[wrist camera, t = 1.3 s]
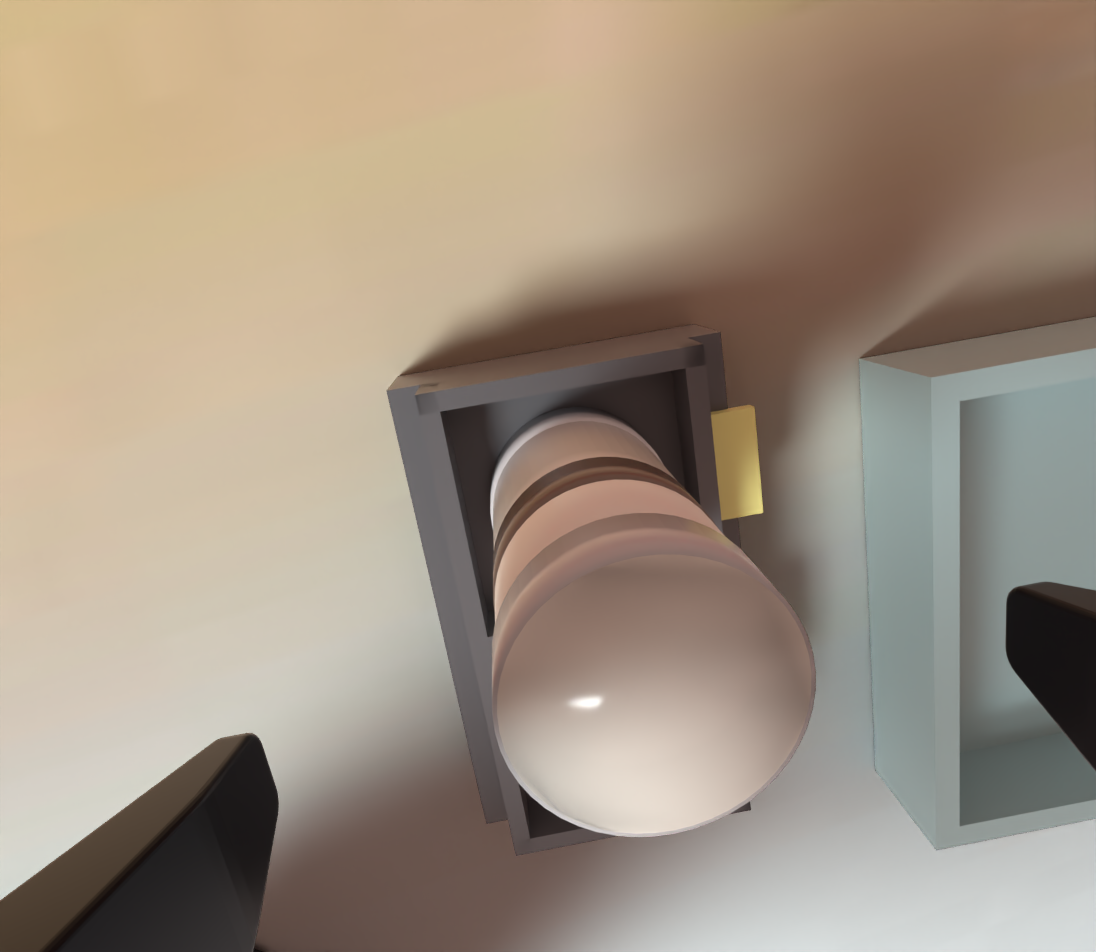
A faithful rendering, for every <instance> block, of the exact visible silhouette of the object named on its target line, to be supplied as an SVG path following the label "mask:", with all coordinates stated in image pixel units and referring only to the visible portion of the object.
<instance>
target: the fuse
mask: <svg viewBox="0 0 1096 952" xmlns="http://www.w3.org/2000/svg"><path fill="white" fill-rule="evenodd" d="M490 514H491V522H492V527H493V541H494V553H493V604H494V611H495V627H494V633H493V639H492V715H493V722H494V729H495V735H496V738H497V741H498V745H499V748H500V751H501V753H502V756H503V758H504V760H505V762H506V764H507V766H508V768H509V769H510V771H511V772H512V774H513V775H514V777H515V778H516V780H517V781H518V783H519V784H520V785H521V786H522V787H523V788H524V789H525V791H526V792H527V793H528V794H529V795H530V796H531V797H532V798H533V799H535V800H536V801H537V802H538V803H539V804H541V805H542V806H543V807H544V808H545V809H547V810H549V811H550V812H552V813H553V814H555V815H557V816H558V817H560V818H562V819H564V820H566V821H568V822H570V823H572V824H575V825H577V826H579V827H582V828H586V829H589V830H592V831H595V832H599V833H604V834H610V835H615V836H626V837H655V836H662V835H669V834H676V833H680V832H684V831H688V830H692V829H695V828H698V827H701V826H703V825H706V824H709V823H711V822H714V821H716V820H718V819H720V818H722V817H724V816H726V815H728V814H730V813H732V812H734V811H735V810H737V809H738V808H740V807H741V806H743V805H745V804H746V803H748V802H749V801H750V800H752V799H753V798H754V797H755V796H757V795H758V794H759V793H760V792H762V791H763V790H764V789H765V788H766V787H767V786H768V785H769V784H770V783H771V782H772V781H773V780H774V779H775V778H776V777H777V776H778V775H779V773H780V772H781V771H782V770H783V768H784V767H785V766H786V765H787V763H788V762H789V761H790V759H791V758H792V756H793V754H794V753H795V751H796V749H797V748H798V746H799V744H800V742H801V740H802V738H803V736H804V733H805V731H806V729H807V726H808V723H809V720H810V716H811V713H812V710H813V704H814V697H815V691H816V671H815V664H814V656H813V652H812V648H811V645H810V642H809V638H808V635H807V633H806V631H805V629H804V627H803V625H802V623H801V621H800V619H799V617H798V616H797V614H796V613H795V611H794V610H793V608H792V607H791V606H790V604H789V603H788V602H787V601H786V599H785V598H784V597H783V596H782V595H781V594H780V593H779V591H778V590H777V589H776V588H775V587H774V586H773V585H772V584H771V582H770V581H769V580H768V579H767V578H766V577H765V576H764V574H763V573H762V572H761V571H760V570H759V569H758V568H757V566H756V565H755V564H754V563H753V562H752V561H751V560H750V559H749V558H748V557H747V555H746V554H745V553H744V552H743V551H742V550H741V549H740V548H739V547H738V546H736V545H735V544H734V543H733V542H731V541H730V540H729V539H728V538H726V537H725V536H724V535H723V533H722V532H721V531H720V530H719V528H718V527H717V526H716V524H715V523H714V521H713V520H712V519H711V517H710V516H709V515H708V514H707V513H706V512H705V510H704V509H703V508H702V507H701V506H700V505H699V504H698V502H697V501H696V500H695V499H694V498H693V497H692V496H691V494H690V493H689V492H688V491H687V490H686V489H685V488H684V487H683V486H682V485H681V484H680V483H679V482H678V481H677V480H676V479H675V478H674V477H673V475H672V474H671V473H670V472H669V471H668V470H667V469H666V467H665V466H664V465H663V463H662V461H661V459H660V458H659V456H658V455H657V454H656V452H655V451H654V450H653V448H652V447H651V446H650V445H649V444H648V443H647V442H646V441H645V439H644V438H643V437H642V436H641V435H640V434H639V433H638V432H637V431H636V430H635V429H634V428H633V427H632V426H631V425H629V424H628V423H627V422H625V421H624V420H622V419H621V418H619V417H617V416H615V415H613V414H611V413H608V412H605V411H602V410H599V409H594V408H587V407H569V408H561V409H557V410H553V411H550V412H547V413H544V414H542V415H540V416H538V417H536V418H534V419H532V420H530V421H529V422H528V423H526V424H525V425H523V426H522V427H521V428H520V429H519V430H518V431H516V432H515V433H514V434H513V435H512V436H511V438H510V439H509V440H508V441H507V443H506V444H505V445H504V447H503V449H502V450H501V452H500V454H499V456H498V458H497V460H496V463H495V466H494V469H493V472H492V477H491V484H490Z"/></svg>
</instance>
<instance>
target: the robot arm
mask: <svg viewBox="0 0 1096 952" xmlns="http://www.w3.org/2000/svg"><path fill="white" fill-rule="evenodd" d="M1005 648H1006V655H1007V658H1008V661H1009V663H1010V665H1011V667H1012V669H1013V670H1014V672H1015V673H1016V674H1017V676H1018V677H1019V678H1020V679H1021V680H1022V682H1023V683H1024V684H1025V685H1026V687H1027V688H1028V689H1029V690H1030V692H1031V693H1032V694H1033V695H1034V697H1035V698H1036V699H1037V700H1038V702H1039V703H1040V704H1041V705H1042V706H1043V708H1044V709H1045V710H1046V711H1047V713H1048V714H1049V715H1050V716H1051V718H1052V719H1053V720H1054V721H1055V723H1056V724H1057V725H1058V726H1059V728H1060V729H1061V730H1062V731H1063V733H1064V734H1065V735H1066V736H1067V737H1068V739H1069V740H1070V741H1071V742H1072V744H1073V745H1074V746H1075V747H1076V749H1077V750H1078V751H1079V752H1080V754H1081V755H1082V756H1083V757H1084V758H1085V760H1086V761H1087V762H1088V763H1089V764H1090V766H1091V767H1092V768H1093V769H1094V770H1095V771H1096V590H1092V589H1086V588H1081V587H1076V586H1070V585H1065V584H1060V583H1054V582H1047V581H1046V582H1038V583H1032V584H1027V585H1022V586H1018V587H1014V588H1013V589H1012V590H1011V591H1010V592H1009V593H1008V596H1007V600H1006V639H1005ZM278 808H279V802H278V793H277V789H276V786H275V783H274V780H273V777H272V773H271V770H270V767H269V764H268V761H267V758H266V755H265V752H264V749H263V746H262V743H261V741H260V740H259V738H258V737H257V736H256V735H255V734H253V733H245V734H239V735H234V736H229V737H224V738H220V739H218V740H216V741H214V742H213V743H212V744H210V745H209V746H208V747H206V748H205V749H204V750H202V751H201V752H200V753H198V754H197V755H196V756H194V757H193V758H191V759H190V760H189V761H187V762H186V763H185V764H183V765H182V766H181V767H179V768H178V769H177V770H175V771H174V772H173V773H171V774H170V775H169V776H167V777H166V778H165V779H163V780H162V781H161V782H159V783H158V784H156V785H155V786H154V787H152V788H151V789H150V790H148V791H147V792H146V793H144V794H143V795H142V796H140V797H139V798H138V799H136V800H135V801H134V802H132V803H131V804H130V805H128V806H127V807H125V808H124V809H123V810H121V811H120V812H119V813H117V814H116V815H115V816H113V817H112V818H111V819H109V820H108V821H107V822H105V823H104V824H103V825H101V826H100V827H99V828H97V829H96V830H94V831H93V832H92V833H90V834H89V835H88V836H86V837H85V838H84V839H82V840H81V841H80V842H78V843H77V844H76V845H74V846H73V847H72V848H70V849H69V850H68V851H66V852H65V853H64V854H62V855H61V856H59V857H58V858H57V859H55V860H54V861H53V862H51V863H50V864H49V865H47V866H46V867H45V868H43V869H42V870H41V871H39V872H38V873H37V874H35V875H34V876H33V877H31V878H30V879H28V880H27V881H26V882H24V883H23V884H22V885H20V886H19V887H18V888H16V889H15V890H14V891H12V892H11V893H10V894H8V895H7V896H6V897H4V898H3V899H2V900H0V952H261V951H259V950H255V949H254V945H255V941H256V936H257V931H258V926H259V921H260V915H261V909H262V903H263V898H264V892H265V886H266V880H267V875H268V869H269V863H270V857H271V851H272V846H273V840H274V834H275V828H276V823H277V817H278Z"/></svg>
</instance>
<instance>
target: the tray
mask: <svg viewBox="0 0 1096 952" xmlns="http://www.w3.org/2000/svg"><path fill="white" fill-rule="evenodd" d="M859 369H860V394H861V419H862V445H863V470H864V495H865V521H866V546H867V571H868V596H869V622H870V647H871V672H872V697H873V723H874V748H875V771H876V772H877V773H878V775H879V776H880V777H881V778H882V780H883V781H884V782H885V784H886V785H887V786H888V788H889V789H890V790H891V792H892V793H893V794H894V796H895V797H896V798H897V800H898V801H899V802H900V803H901V805H902V806H903V807H904V809H905V810H906V811H907V813H908V814H909V815H910V817H911V818H912V819H913V821H914V822H915V823H916V824H917V826H918V827H919V828H920V830H921V831H922V832H923V834H924V835H925V836H926V838H927V839H928V840H929V842H930V843H931V844H932V845H933V847H934V848H935V849H936V850H941V849H946V848H951V847H956V846H961V845H966V844H971V843H976V842H981V841H986V840H991V839H996V838H1001V837H1006V836H1011V835H1016V834H1022V833H1027V832H1032V831H1037V830H1042V829H1047V828H1052V827H1057V826H1062V825H1067V824H1072V823H1077V822H1082V821H1087V820H1092V819H1096V771H1095V770H1094V769H1093V768H1092V767H1091V766H1090V764H1089V763H1088V762H1087V761H1086V760H1085V758H1084V757H1083V756H1082V755H1081V754H1080V752H1079V751H1078V750H1077V749H1076V747H1075V746H1074V745H1073V744H1072V742H1071V741H1070V740H1069V739H1068V737H1067V736H1066V735H1065V734H1064V733H1063V731H1062V730H1061V729H1060V728H1059V726H1058V725H1057V724H1056V723H1055V721H1054V720H1053V719H1052V718H1051V716H1050V715H1049V714H1048V713H1047V711H1046V710H1045V709H1044V708H1043V706H1042V705H1041V704H1040V703H1039V702H1038V700H1037V699H1036V698H1035V697H1034V695H1033V694H1032V693H1031V692H1030V690H1029V689H1028V688H1027V687H1026V685H1025V684H1024V683H1023V682H1022V680H1021V679H1020V678H1019V677H1018V676H1017V674H1016V673H1015V672H1014V670H1013V669H1012V667H1011V665H1010V663H1009V661H1008V658H1007V655H1006V648H1005V639H1006V600H1007V596H1008V593H1009V592H1010V591H1011V590H1012V589H1013V588H1014V587H1018V586H1022V585H1027V584H1032V583H1038V582H1046V581H1047V582H1054V583H1060V584H1065V585H1070V586H1076V587H1081V588H1086V589H1092V590H1096V317H1091V318H1085V319H1080V320H1074V321H1068V322H1063V323H1057V324H1052V325H1046V326H1040V327H1035V328H1029V329H1024V330H1018V331H1012V332H1007V333H1001V334H996V335H990V336H984V337H979V338H973V339H967V340H962V341H956V342H951V343H945V344H939V345H934V346H928V347H923V348H917V349H911V350H906V351H900V352H894V353H889V354H883V355H878V356H872V357H866V358H861V359H859Z"/></svg>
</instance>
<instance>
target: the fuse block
mask: <svg viewBox="0 0 1096 952" xmlns="http://www.w3.org/2000/svg"><path fill="white" fill-rule="evenodd" d="M387 395H388V399H389V403H390V408H391V412H392V416H393V421H394V425H395V429H396V434H397V438H398V442H399V447H400V451H401V455H402V460H403V464H404V468H405V473H406V477H407V481H408V486H409V490H410V494H411V499H412V503H413V507H414V512H415V516H416V520H417V525H418V529H419V533H420V538H421V542H422V546H423V551H424V555H425V559H426V564H427V568H428V572H429V577H430V581H431V585H432V590H433V594H434V598H435V603H436V607H437V611H438V616H439V620H440V624H441V629H442V633H443V637H444V642H445V646H446V650H447V655H448V659H449V663H450V668H451V672H452V676H453V681H454V685H455V689H456V694H457V698H458V702H459V707H460V711H461V715H462V720H463V724H464V728H465V733H466V737H467V741H468V746H469V750H470V754H471V758H472V763H473V767H474V771H475V776H476V780H477V784H478V789H479V793H480V797H481V802H482V806H483V810H484V815H485V819H486V823H487V824H488V823H493V822H498V821H503V820H508V821H509V826H510V830H511V835H512V839H513V844H514V848H515V853H516V856H518V855H523V854H528V853H533V852H538V851H543V850H548V849H553V848H559V847H564V846H569V845H574V844H579V843H584V842H589V841H594V840H600V839H605V838H610V837H615V835H610V834H604V833H599V832H595V831H592V830H589V829H586V828H582V827H579V826H577V825H575V824H572V823H570V822H568V821H566V820H564V819H562V818H560V817H558V816H557V815H555V814H553V813H552V812H550V811H549V810H547V809H545V808H544V807H543V806H542V805H541V804H539V803H538V802H537V801H536V800H535V799H533V798H532V797H531V796H530V795H529V794H528V793H527V792H526V791H525V789H524V788H523V787H522V786H521V785H520V784H519V783H518V781H517V780H516V778H515V777H514V775H513V774H512V772H511V771H510V769H509V768H508V766H507V764H506V762H505V760H504V758H503V756H502V753H501V751H500V748H499V745H498V741H497V738H496V735H495V729H494V722H493V715H492V639H493V633H494V627H495V611H494V604H493V553H494V541H493V527H492V522H491V514H490V484H491V477H492V472H493V469H494V466H495V463H496V460H497V458H498V456H499V454H500V452H501V450H502V449H503V447H504V445H505V444H506V443H507V441H508V440H509V439H510V438H511V436H512V435H513V434H514V433H515V432H516V431H518V430H519V429H520V428H521V427H522V426H523V425H525V424H526V423H528V422H529V421H530V420H532V419H534V418H536V417H538V416H540V415H542V414H544V413H547V412H550V411H553V410H557V409H561V408H569V407H587V408H594V409H599V410H602V411H605V412H608V413H611V414H613V415H615V416H617V417H619V418H621V419H622V420H624V421H625V422H627V423H628V424H629V425H631V426H632V427H633V428H634V429H635V430H636V431H637V432H638V433H639V434H640V435H641V436H642V437H643V438H644V439H645V441H646V442H647V443H648V444H649V445H650V446H651V447H652V448H653V450H654V451H655V452H656V454H657V455H658V456H659V458H660V459H661V461H662V463H663V465H664V466H665V467H666V469H667V470H668V471H669V472H670V473H671V474H672V475H673V477H674V478H675V479H676V480H677V481H678V482H679V483H680V484H681V485H682V486H683V487H684V488H685V489H686V490H687V491H688V492H689V493H690V494H691V496H692V497H693V498H694V499H695V500H696V501H697V502H698V504H699V505H700V506H701V507H702V508H703V509H704V510H705V512H706V513H707V514H708V515H709V516H710V517H711V519H712V520H713V521H714V523H715V524H716V526H717V527H718V528H719V530H720V531H721V532H722V533H723V535H724V536H725V537H726V538H728V539H729V540H730V541H731V542H733V543H734V544H735V545H736V546H738V547H739V548H740V549H741V546H740V535H739V525H738V517H744V516H749V515H754V514H760V513H763V504H762V492H761V479H760V467H759V455H758V443H757V431H756V419H755V407H753V406H751V405H744V406H739V407H733V408H728V407H727V397H726V386H725V375H724V365H723V354H722V343H721V333H720V332H719V331H715V330H712V329H709V328H706V327H702V326H699V325H696V324H692V325H687V326H681V327H675V328H670V329H664V330H658V331H653V332H647V333H641V334H635V335H630V336H624V337H618V338H613V339H607V340H601V341H596V342H590V343H584V344H578V345H573V346H567V347H561V348H556V349H550V350H544V351H539V352H533V353H527V354H522V355H516V356H510V357H504V358H499V359H493V360H487V361H482V362H476V363H470V364H465V365H459V366H453V367H447V368H442V369H436V370H430V371H425V372H419V373H413V374H408V375H402V376H398V377H397V378H396V379H395V381H394V382H393V383H392V385H391V386H390V387H389V388H388V390H387ZM748 810H751V807H750V801H749V802H748V803H746V804H745V805H743V806H741V807H740V808H738V809H737V810H735V811H734V812H732V813H730V814H733V813H738V812H743V811H748Z"/></svg>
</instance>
